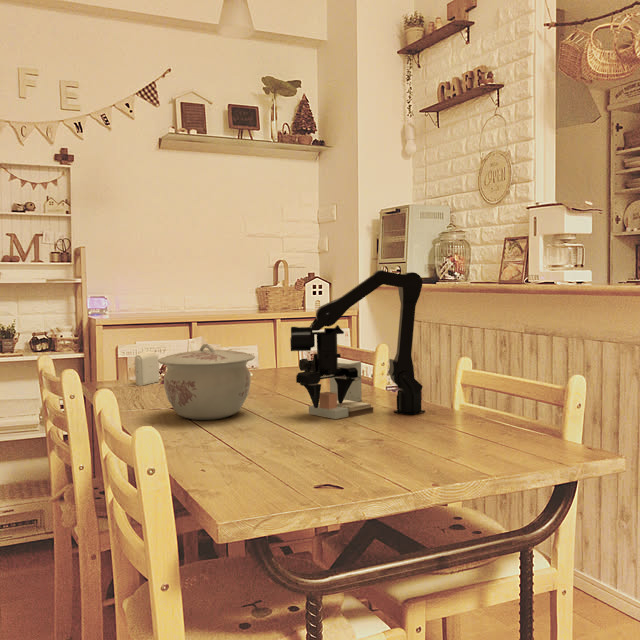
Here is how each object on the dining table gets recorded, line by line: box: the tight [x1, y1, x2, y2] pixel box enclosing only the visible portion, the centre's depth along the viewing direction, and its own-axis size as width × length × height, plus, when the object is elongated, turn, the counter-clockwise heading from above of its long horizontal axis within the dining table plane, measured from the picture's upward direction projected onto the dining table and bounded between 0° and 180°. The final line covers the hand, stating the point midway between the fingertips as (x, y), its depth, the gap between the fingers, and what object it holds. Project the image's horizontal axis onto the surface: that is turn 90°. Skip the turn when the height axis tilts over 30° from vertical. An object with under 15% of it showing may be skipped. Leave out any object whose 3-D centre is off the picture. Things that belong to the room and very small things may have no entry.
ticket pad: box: [337, 400, 374, 418], centre depth 197 cm, size 12×9×2 cm
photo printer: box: [134, 350, 160, 387], centre depth 260 cm, size 10×4×12 cm, turn 152°
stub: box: [308, 391, 349, 420], centre depth 192 cm, size 11×5×6 cm, turn 42°
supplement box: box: [329, 359, 362, 402], centre depth 213 cm, size 7×7×13 cm
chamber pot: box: [158, 343, 256, 421], centre depth 196 cm, size 28×28×21 cm
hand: (328, 405), depth 192 cm, fingers open, 9 cm apart
